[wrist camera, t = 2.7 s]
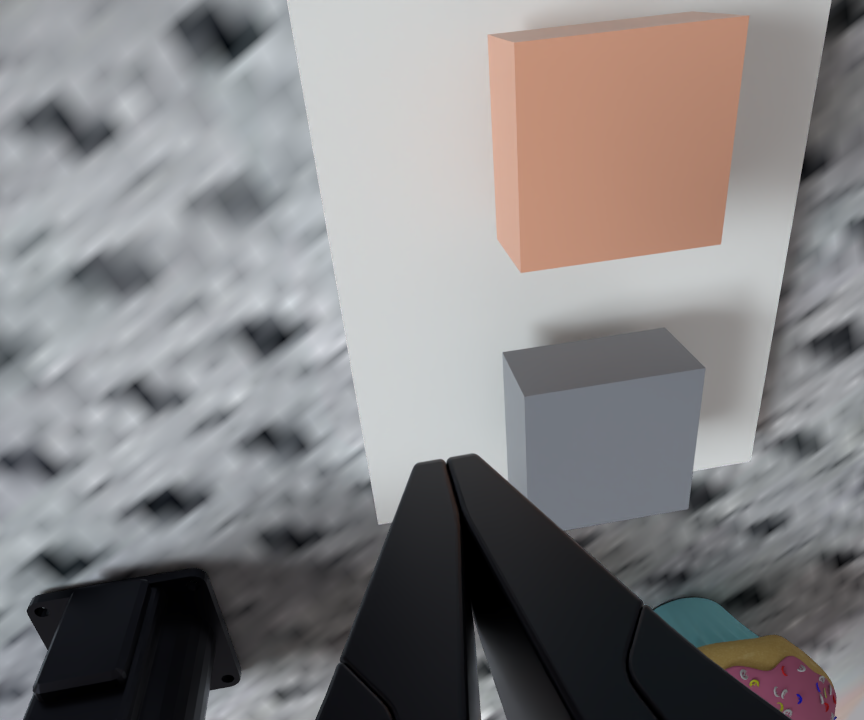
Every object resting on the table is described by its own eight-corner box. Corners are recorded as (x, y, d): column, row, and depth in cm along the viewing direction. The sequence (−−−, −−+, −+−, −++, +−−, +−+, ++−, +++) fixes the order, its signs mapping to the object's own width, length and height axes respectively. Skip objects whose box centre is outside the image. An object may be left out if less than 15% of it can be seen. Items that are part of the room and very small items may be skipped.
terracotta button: (674, 214, 19) (721, 244, 17) (496, 239, 18) (520, 272, 16) (692, 11, 16) (750, 15, 14) (487, 34, 16) (513, 42, 14)
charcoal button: (653, 459, 23) (688, 508, 21) (508, 483, 23) (528, 537, 20) (664, 327, 20) (705, 368, 18) (502, 352, 20) (524, 396, 18)
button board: (729, 438, 27) (750, 461, 25) (375, 497, 26) (378, 525, 24) (886, -592, 14) (945, -652, 13) (192, -565, 13) (177, -627, 11)
